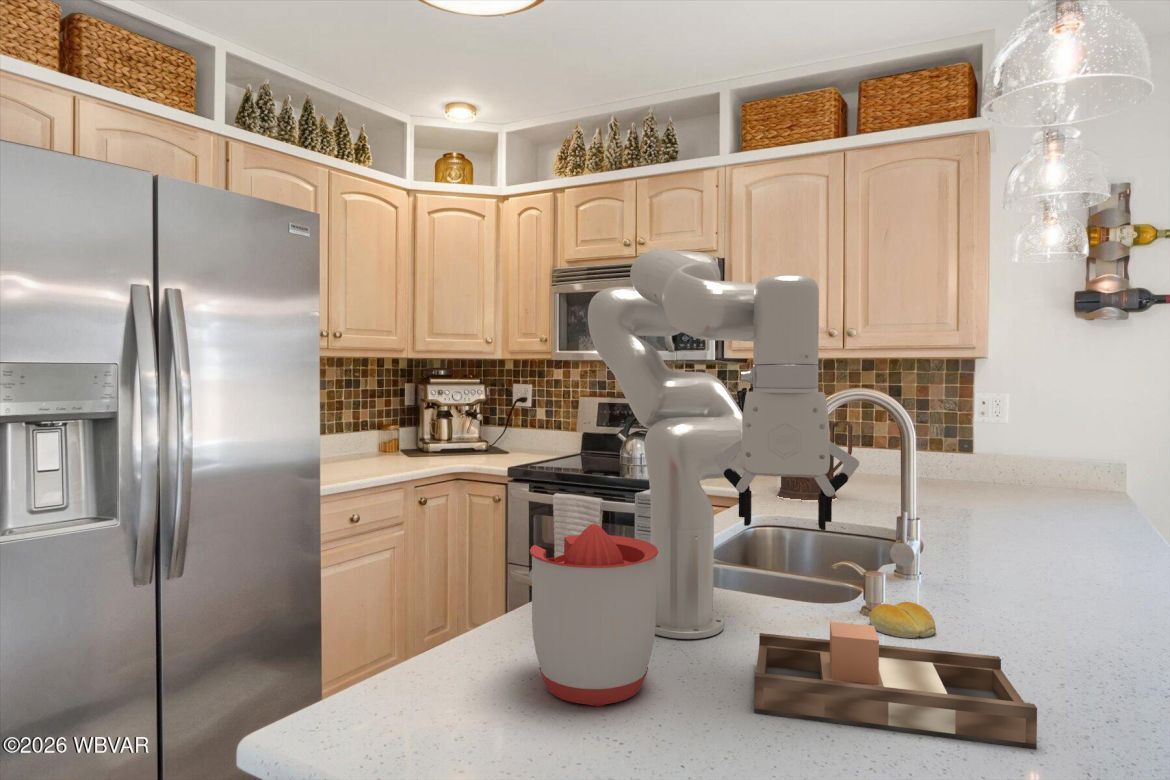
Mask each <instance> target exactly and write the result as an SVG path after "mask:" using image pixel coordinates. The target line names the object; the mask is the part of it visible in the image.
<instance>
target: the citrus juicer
mask: <svg viewBox="0 0 1170 780" xmlns="http://www.w3.org/2000/svg"><path fill="white" fill-rule="evenodd" d="M563 541H564V542H563V544H564V545H563V554H560V555H557V556H554V557H548V558H547V550H546V549H545V548H542V547H540V546H538V545H536V544H533V545H532V546H531V547H530V549H529V554H530V555H531V566H532V567H531V570H530V571H529V572H528V578H529V580H531V624H532V638H533V644H534V648H535V649H534V650H535V654H536V658H537V661H538V664H539V671H540V673H541V676H542V679H543V682H544V683H545V686H546V688H547V690H548V691H549V692H550V694H552V695H554V696H555V697H557V698H559V699H561V700H562V701H563V700H564V701H567V702H570V703H576V704H581V705H591V706H593V707H602V706H606V705H608V704H614V703H618V702H623V701H625V700H629V699H630V698H632V697H634V696H635V695H636V694H637V693H639V691H640V690H641V688H642V685H643V684H644V681H645V680H646V679H645V678H646V676H647V674H648V670H649V664H650V660H651V656H652V652H653V650H654V649H653V647H654V642H655V636H656V634H655V624H656V556H657V555H658V550H657V547H655V546H654V545H653V544H651V543H648V542H646V541H642V540H639V539H635V537H634V538H632V537H630V536H629V537H628V536H620V535H609V534H608V533H607V532H606V531H605V530H604V529H603V528H602V527H601V526H600V525H599V524H597V523H591V524H589V525H588V526H587V527H586V528H585V529H584V530H583V531H582V532H581V533H580V534H575V535H569V536H567V535H566V536H564V540H563Z"/></svg>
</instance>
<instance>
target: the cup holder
mask: <svg viewBox="0 0 1170 780" xmlns="http://www.w3.org/2000/svg"><path fill="white" fill-rule="evenodd" d="M839 423H840V424H841V423H844V424H845V425H847V453H848V454H850V455H851V456H852V453H853V425H852V423H851V422H850V421H849V420H847V419H840V420H836V421H833V422H832V423H831V425H830V429H829V433H830V442H832V443H833V444H835V437H836V436H835V435H836V434H835V433H836V432H835V428H836V426H837V425H838V424H839ZM834 461H835V457H834V456H832V455H831V454H830V467H829V471H828V473H827V474H825V475H826V476H827V478H828V479H829V481H830V480H831V479H832V478H833V477H834V476H835V475H834V473H835V472H836V471H837V470H838V469H839V468H840V467H841V466H843V463H842V462H841V461H840V460H839V462H838V463H837V464H836V465H834V463H835V462H834ZM820 489H821V488H820V486H819V485H818V483H817V482H816V480H815V479H814V477H784V476H780V487H779V490H778V493H777V494H776V497H777V496H779V497H783V498H790V499H801V500H818V494H820ZM835 498H837V499H838V497H837V495H836V492H835V493H834V495H833V496H832V499H835Z"/></svg>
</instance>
